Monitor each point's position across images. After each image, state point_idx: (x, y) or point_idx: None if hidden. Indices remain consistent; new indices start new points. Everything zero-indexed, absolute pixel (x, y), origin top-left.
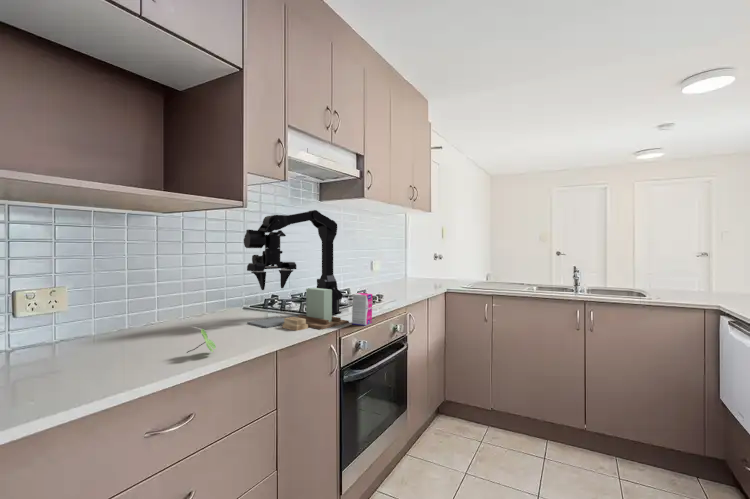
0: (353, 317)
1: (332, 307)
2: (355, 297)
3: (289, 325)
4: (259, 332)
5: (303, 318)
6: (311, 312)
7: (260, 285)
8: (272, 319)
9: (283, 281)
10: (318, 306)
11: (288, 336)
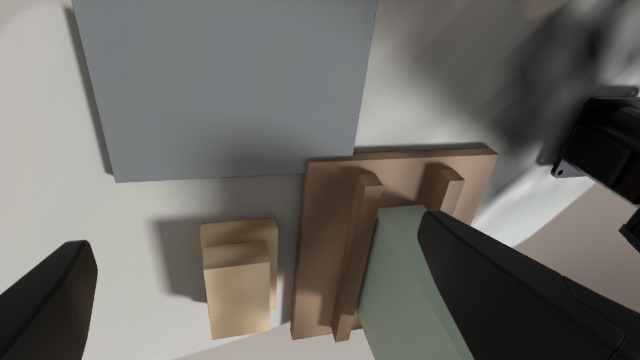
0: None
1: (599, 183)
2: None
3: None
4: (30, 242)
5: (354, 220)
6: (381, 271)
7: (6, 307)
8: (285, 14)
9: (466, 323)
10: (385, 341)
11: (119, 355)
